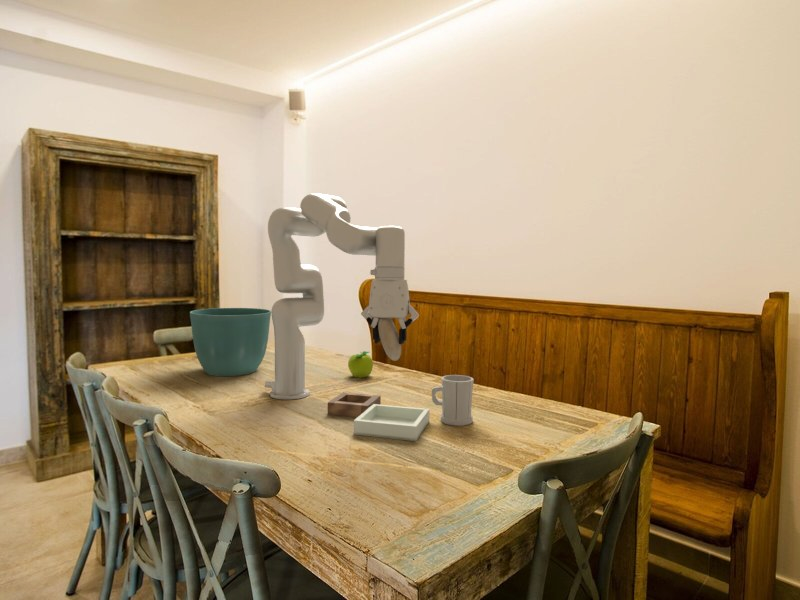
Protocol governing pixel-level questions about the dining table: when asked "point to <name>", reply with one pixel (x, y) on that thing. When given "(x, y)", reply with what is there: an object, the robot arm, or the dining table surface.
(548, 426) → the dining table surface
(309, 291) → the robot arm
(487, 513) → the dining table surface
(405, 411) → the tray
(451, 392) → the cup
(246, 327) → the flower pot
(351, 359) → the fruit
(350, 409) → the pocket frame
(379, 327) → the stone
